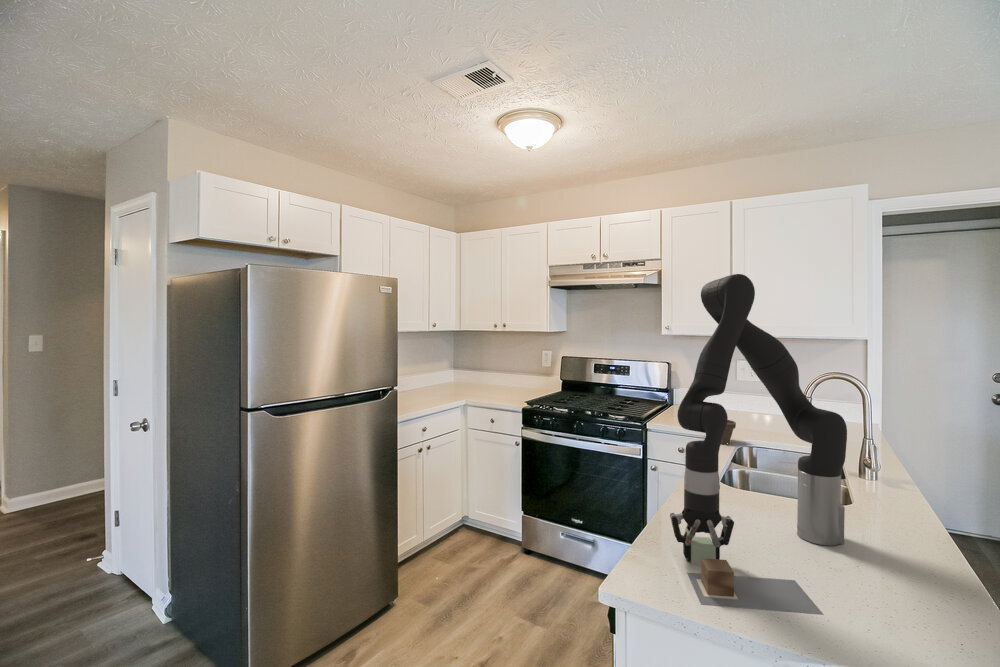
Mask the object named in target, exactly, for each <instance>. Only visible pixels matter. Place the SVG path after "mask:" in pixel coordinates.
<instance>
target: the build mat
mask: <svg viewBox="0 0 1000 667" xmlns="http://www.w3.org/2000/svg"><path fill="white" fill-rule="evenodd" d="M686 574H687V576H688V578H689V581H690V582H691V585H692V587H693V589H694V592H695V594H696V596H697V598H698V601H699V603H700V605H701V606H712V607H713V606H714V607H725V608H726V607H727V608H737V609H747V610H748V609H749V610H750V609H751V610H761V611H773V612H774V611H775V612H783V613H784V612H786V613H797V614H798V613H799V614H810V615H811V614H812V615H825V614H824V613H823V612H822V611H821V610H820V608H819V607H818V606H817V604H816V603H815V602H814V601H813V600H812V599H811V597H809V595H808V593H806V591H804V590H803V588H802V587H801V586H800V585H799V583H798V582H797V581H796V579H785V578H784V579H783V578H768V577H757V576H756V577H755V576H741V575H734V597H730V596H717V595H708V594H707V592H706V590H705V588H704V586H703V584H702V582H701V572H700V573H699V572H689V571H688V572H686Z"/></svg>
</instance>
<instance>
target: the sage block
mask: <svg viewBox="0 0 1000 667" xmlns="http://www.w3.org/2000/svg"><path fill="white" fill-rule="evenodd" d="M690 545H691V561H690V563H691V565H692V566H699V567H701V558H706V559H716V547H715V545H714V544H713V542H712V539H711V537H704V536H694V537H693V539H692V541H691V543H690Z"/></svg>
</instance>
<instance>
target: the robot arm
mask: <svg viewBox="0 0 1000 667" xmlns="http://www.w3.org/2000/svg"><path fill="white" fill-rule="evenodd" d="M755 289H756V288H755V285H754V283H753V281H752V280H751V279H750V278H749V277H748V276H746V274H742V273H733V274H729V275H726V276H725V277H724V276H723V277H721V278H718V279H714V280H712V281H709V282H707V283H705V284H704V285H703V286H702V287H701V291H700V300H701V302H702V305H703V307H704V308H705V310H706V312H707V313H708V315H709V316H710V317H711V318H712V319H713V321H715V322H716V324H718V325H717V326H716V329H715V330H714V331H713V333H712V335H711V336H710V338H709V339H708V341H707V342H706V343H705V345H704V347H703V349H702V350H701V352H700V354H699V357H698V360H697V364H696V368H695V372H694V377H693V380H692V382H691V383H690V384H691V385H690V386H689V388H688V390H687V391H686V394H685V395H684V397H683V399H682V400H681V402H680V403H679V406H678V410H677V415H676V416H677V421H678V423H679V426H680V427H681V428H683V429H684V430H687V431H692V432H697V433H704V434H705V438H704V440H692V441H689V442H688V443H687V444H686V446H685V465H684V466H685V468H684V469H685V470H684V474H683V476H684V477H683V480H684V481H683V510H682V512H681V513H675V512H672V513H670V515H669V517H670V521H671V526H672V528H673V529H672V530H673V533H674V534H673V535H674V538H676V542H678V543H682V546H683V547H682V548H683V550H682V553H683V557H684V558H685V559H686V560H687V562H691V545H690V543H691V541H692V539H693V537H696V533H705V534H709V536H710V537H709V538H710V539H711V540H712V542H713V544H714V545H715V547H716V559H720V558H721V554H720V553H721V550H720V548H721V546H728V545H729V544H730V540H731V536H732V532H733V529H734V525H735V521H734V520H733V518H732V517H731V516H729V515H727V516H723V515H721V513H720V489H721V485H720V472H719V455H720V448H721V445H722V444H721V441H722V437H723V434H724V431H725V428H726V425H727V421H728V420H729V419H728V412H727V410H726V408H725V407H724V406H723V405H722V404H719V403H717V402H708V401H705V400H706V399H707V398H708V397H713V396H720V395H722V394H724V393H725V391H726V387H727V382H728V377H729V373H730V368H731V364H732V359H733V356H734V353H735V350H736V348H737V349H738V350H739V352H740V353H741V354H742V356H743V357H744V358H745V360H746V362H747V364H748V365H749V367H750V368H751V369H752V371H753V372H754V374H755V375H756V376H757V378H758V379H759V380H760V382H761V383H762V384H763V386H764V387H765V388H766V390H767V392H768V393H769V394H770V396H771V398H773V400H774V401H775V403H776V404H777V406H778V407H779V409H780V410H781V412H782V414H783V416H784V419H785V420H786V422H787V423H788V425H789V427H790V429H791V431H792V432H793V433H794V435H795V436H796V437H797V438H798V439H799V440H801V441H803V442H806V443H809V444H811V448H810V454H809V455H804V456H800V457H798V460H797V510H796V511H797V513H796V514H797V515H796V516H797V517H796V518H797V519H796V520H797V521H796V523H797V524H796V530H797V531H796V534H797V536H798V537H799V538H800V539H802V540H805V541H807V542H809V543H813V544H816V545H821V546H830V547H831V546H838V545H840V544H841V545H844V544H845V516H846V514H845V511H846V509H845V506H844V505H843V504H842V503H841V502H842V469H843V467H844V465H845V462H846V457H847V456H846V454H847V453H846V452H847V441H848V429H847V423H846V421H845V418H843V416H842V415H841V414H840V413H837V412H835V411H831V410H827V409H822V408H818V407H816V406H814V405H813V404H812V402H811V401H810V400H809V399H808V398H807V397H806V394H804V392H803V390H802V389H801V386H800V374H799V368H798V365H797V362H796V361H795V359H794V358H793V356H792V355H791V353H790V352H789V351H788V349H787V347H786V346H785V345H784V343H782V342H781V341H780V340H779V339H778V338H776V337H775V336H773V335H772V334H770V333H769V332H767V331H765V330H763V329H762V328H760V327H758V326H757V325H755V324H754V323H752V322H751V321H750V320H749V319H748V317H749V315H750V312H751V310H752V308H753V306H754V301H755V298H756V297H755V296H756V291H755ZM682 520H684V521H685V522H686V527H685V528H684V530H685V531H684V534H682V533H681V528H680V525H681V524H682ZM720 522H721V525H722V528H721V533H720V536H719V537H718V534H717V531H716V527H717V526H718V525H719V524H720Z"/></svg>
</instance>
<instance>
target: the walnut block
mask: <svg viewBox="0 0 1000 667" xmlns="http://www.w3.org/2000/svg"><path fill="white" fill-rule="evenodd" d="M700 568H701V570H700V571H701V572H700V573H701V582H702V584H703V586H704V588H705V590H706V592H707V594H708V595H717V596H730V597H734V576H735V571H734V570H733V568H732V567H731V565H730V564H729V561H727V559H706V558H701V566H700Z"/></svg>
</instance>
